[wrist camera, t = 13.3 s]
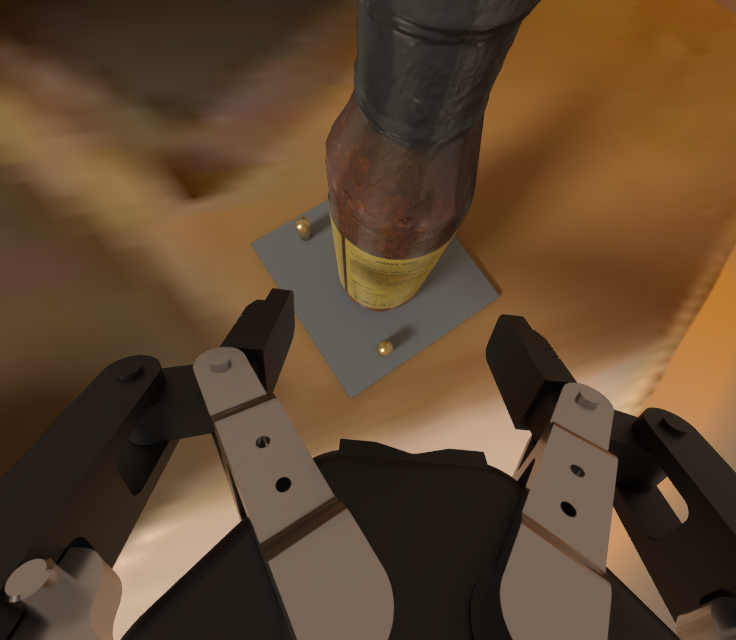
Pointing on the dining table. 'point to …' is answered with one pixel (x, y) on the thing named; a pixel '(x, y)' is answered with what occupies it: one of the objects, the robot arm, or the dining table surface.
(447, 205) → the sauce bottle
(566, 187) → the dining table surface
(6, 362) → the dining table surface
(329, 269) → the slate pad
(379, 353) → the brass pins
